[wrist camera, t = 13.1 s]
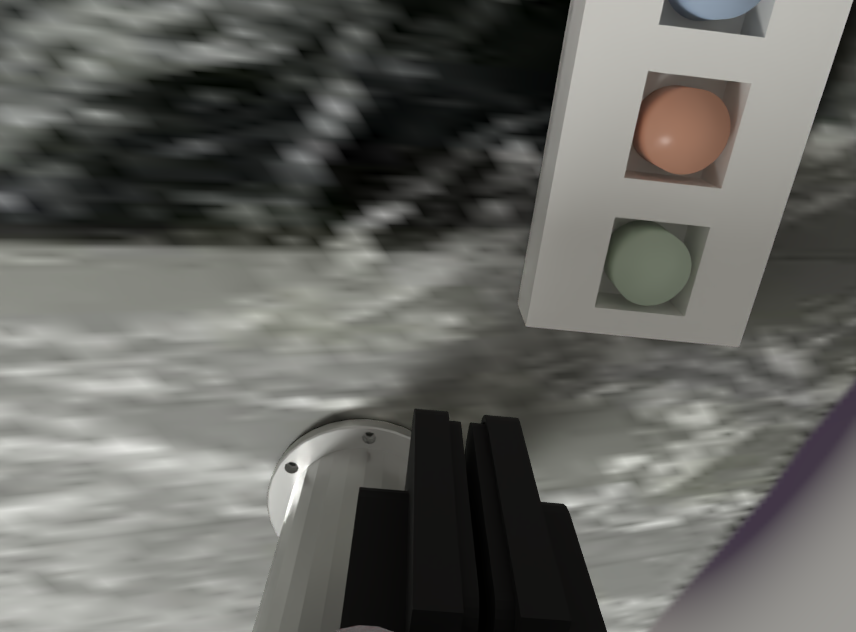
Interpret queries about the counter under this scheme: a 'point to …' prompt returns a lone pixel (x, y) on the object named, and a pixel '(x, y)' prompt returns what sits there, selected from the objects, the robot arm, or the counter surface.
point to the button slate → (712, 8)
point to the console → (663, 191)
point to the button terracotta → (681, 129)
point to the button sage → (647, 263)
